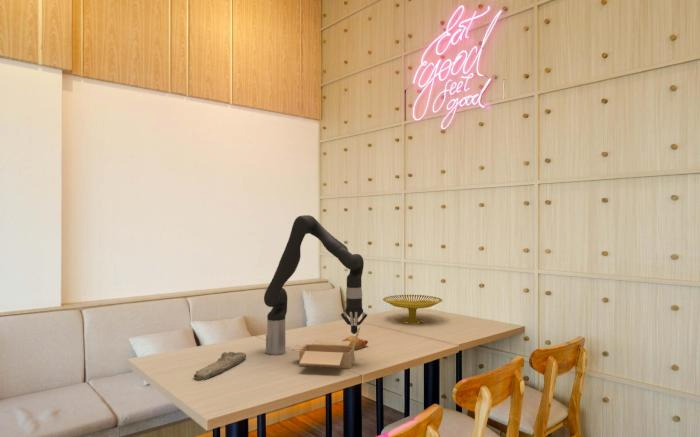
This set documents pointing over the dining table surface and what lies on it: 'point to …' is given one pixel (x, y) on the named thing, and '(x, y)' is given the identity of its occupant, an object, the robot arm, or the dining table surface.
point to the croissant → (359, 342)
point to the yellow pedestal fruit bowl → (412, 305)
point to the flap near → (322, 358)
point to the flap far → (355, 338)
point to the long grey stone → (220, 365)
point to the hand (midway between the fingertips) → (354, 333)
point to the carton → (329, 347)
